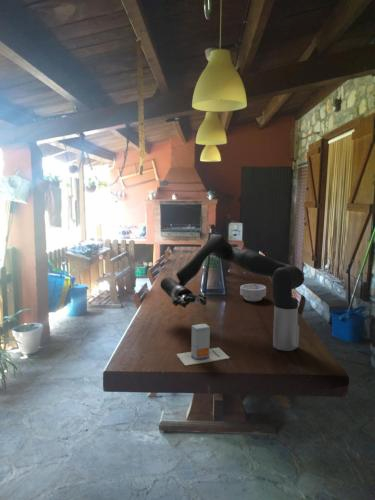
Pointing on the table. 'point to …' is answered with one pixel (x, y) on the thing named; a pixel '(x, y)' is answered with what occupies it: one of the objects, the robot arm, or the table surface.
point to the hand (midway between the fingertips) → (195, 304)
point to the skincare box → (200, 341)
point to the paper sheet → (213, 356)
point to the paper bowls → (253, 292)
